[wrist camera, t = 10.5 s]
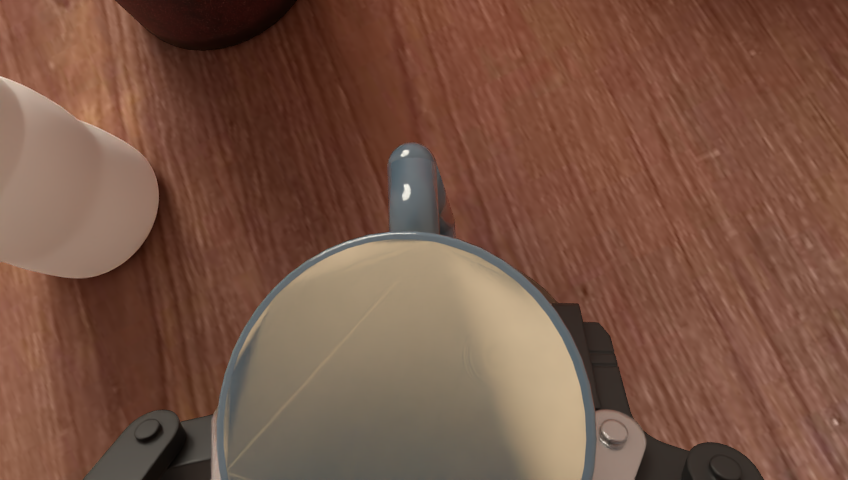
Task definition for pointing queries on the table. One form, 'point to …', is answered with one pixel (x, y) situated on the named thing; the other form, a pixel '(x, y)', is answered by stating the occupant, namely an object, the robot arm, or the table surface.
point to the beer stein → (406, 361)
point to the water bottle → (68, 190)
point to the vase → (206, 20)
